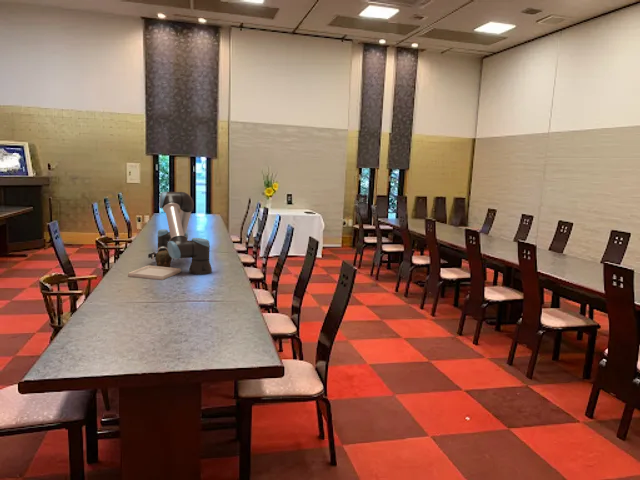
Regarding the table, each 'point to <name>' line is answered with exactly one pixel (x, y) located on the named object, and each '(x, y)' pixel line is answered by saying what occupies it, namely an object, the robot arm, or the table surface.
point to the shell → (163, 259)
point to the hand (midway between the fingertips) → (163, 258)
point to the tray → (154, 272)
